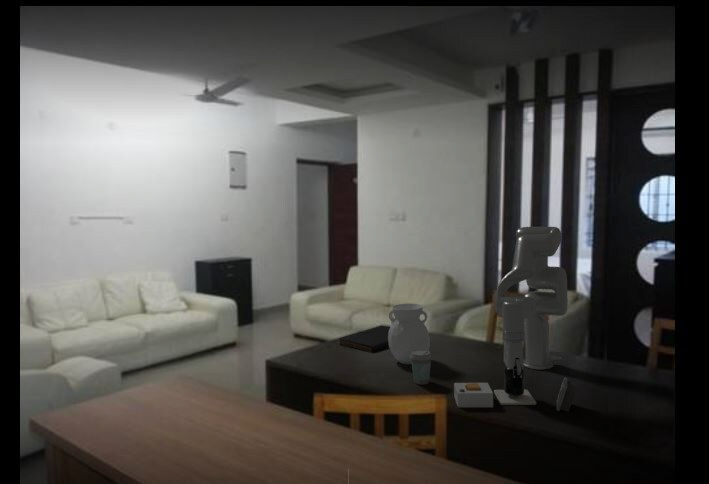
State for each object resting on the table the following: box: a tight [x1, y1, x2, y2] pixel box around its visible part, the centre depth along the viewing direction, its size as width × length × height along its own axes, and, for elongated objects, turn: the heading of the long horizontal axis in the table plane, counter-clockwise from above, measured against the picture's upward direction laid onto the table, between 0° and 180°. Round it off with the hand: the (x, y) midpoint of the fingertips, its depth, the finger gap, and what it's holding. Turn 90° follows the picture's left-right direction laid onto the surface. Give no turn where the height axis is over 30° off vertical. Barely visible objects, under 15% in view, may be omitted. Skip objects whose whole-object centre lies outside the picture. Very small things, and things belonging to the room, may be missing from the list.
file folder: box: [338, 325, 391, 353], centre depth 262 cm, size 33×4×24 cm
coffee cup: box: [410, 350, 433, 386], centre depth 200 cm, size 9×8×12 cm
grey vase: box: [388, 303, 431, 365], centre depth 226 cm, size 19×18×25 cm
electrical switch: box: [556, 377, 576, 413], centre depth 171 cm, size 9×5×9 cm, turn 158°
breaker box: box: [453, 382, 494, 408], centre depth 179 cm, size 12×10×5 cm
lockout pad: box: [493, 389, 537, 406], centre depth 181 cm, size 12×12×1 cm
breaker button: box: [465, 382, 480, 391], centre depth 179 cm, size 4×4×4 cm
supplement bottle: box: [503, 365, 525, 396], centre depth 181 cm, size 7×7×12 cm
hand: (514, 383), depth 181 cm, fingers closed on supplement bottle, 6 cm apart
